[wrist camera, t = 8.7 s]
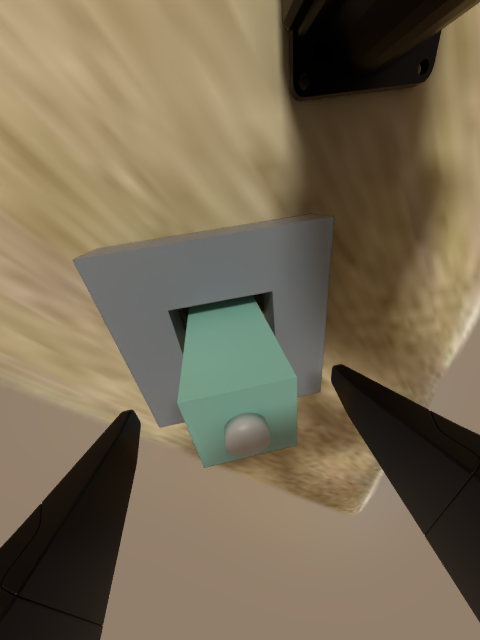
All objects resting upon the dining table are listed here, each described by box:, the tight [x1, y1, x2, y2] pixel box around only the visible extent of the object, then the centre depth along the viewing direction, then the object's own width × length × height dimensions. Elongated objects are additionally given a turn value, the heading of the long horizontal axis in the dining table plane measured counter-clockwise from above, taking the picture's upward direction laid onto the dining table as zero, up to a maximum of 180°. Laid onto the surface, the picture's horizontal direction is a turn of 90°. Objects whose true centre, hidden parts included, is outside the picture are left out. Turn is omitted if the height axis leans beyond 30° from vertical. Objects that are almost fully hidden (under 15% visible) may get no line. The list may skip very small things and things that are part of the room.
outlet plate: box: [73, 214, 334, 428], centre depth 14 cm, size 12×12×2 cm
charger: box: [177, 295, 297, 468], centre depth 11 cm, size 4×4×9 cm
